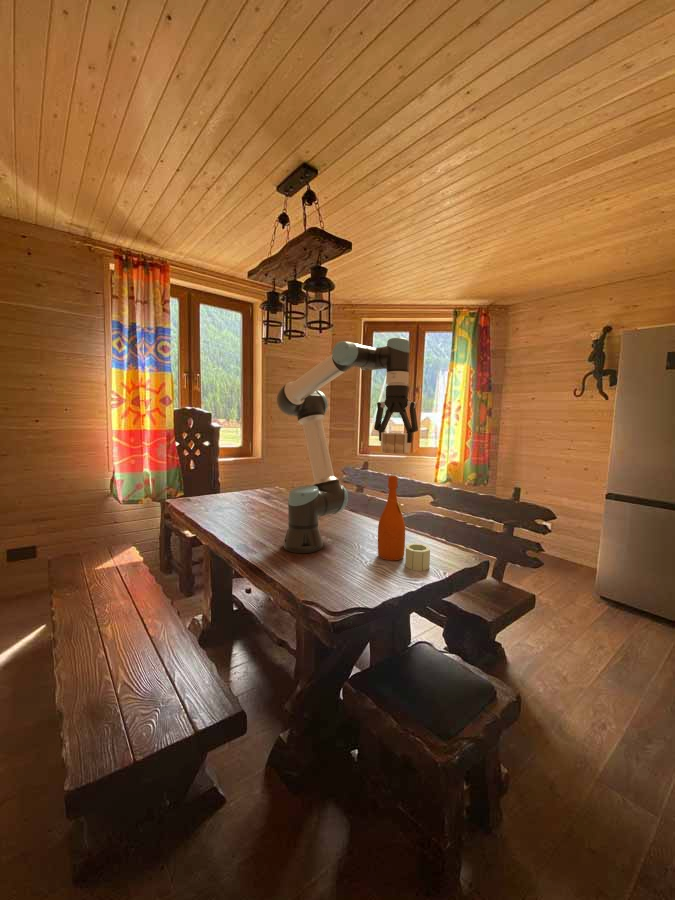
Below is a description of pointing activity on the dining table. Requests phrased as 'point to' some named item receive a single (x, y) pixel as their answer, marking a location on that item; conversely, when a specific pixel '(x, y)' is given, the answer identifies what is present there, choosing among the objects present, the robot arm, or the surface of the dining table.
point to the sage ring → (417, 557)
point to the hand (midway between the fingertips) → (394, 451)
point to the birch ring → (393, 443)
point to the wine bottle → (391, 526)
